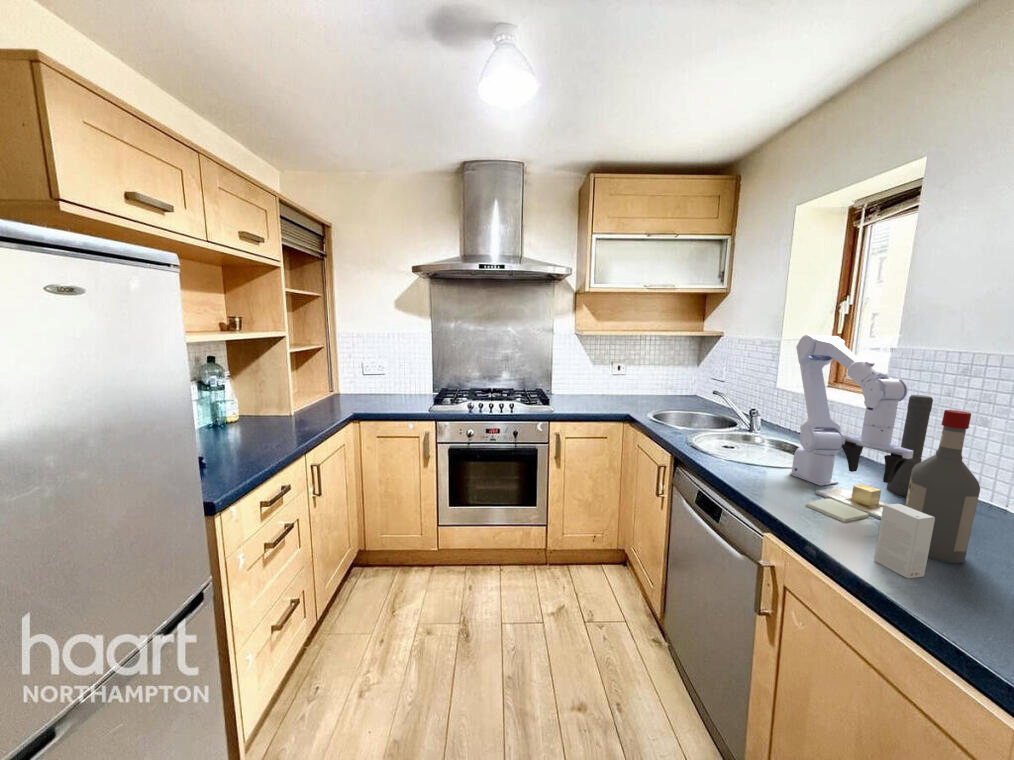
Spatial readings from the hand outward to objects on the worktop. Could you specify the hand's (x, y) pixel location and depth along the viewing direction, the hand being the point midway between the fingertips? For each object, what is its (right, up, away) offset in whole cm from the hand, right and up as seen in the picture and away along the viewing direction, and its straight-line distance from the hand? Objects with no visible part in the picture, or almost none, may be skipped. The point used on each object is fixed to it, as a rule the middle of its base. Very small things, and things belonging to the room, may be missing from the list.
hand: (869, 476), depth 104 cm
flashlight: (+19, -7, +11) cm, 23 cm away
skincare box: (-18, -12, -26) cm, 34 cm away
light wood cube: (0, -8, +1) cm, 8 cm away
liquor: (-5, -11, -19) cm, 23 cm away
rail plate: (0, -8, +1) cm, 8 cm away
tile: (-11, -8, -2) cm, 14 cm away
